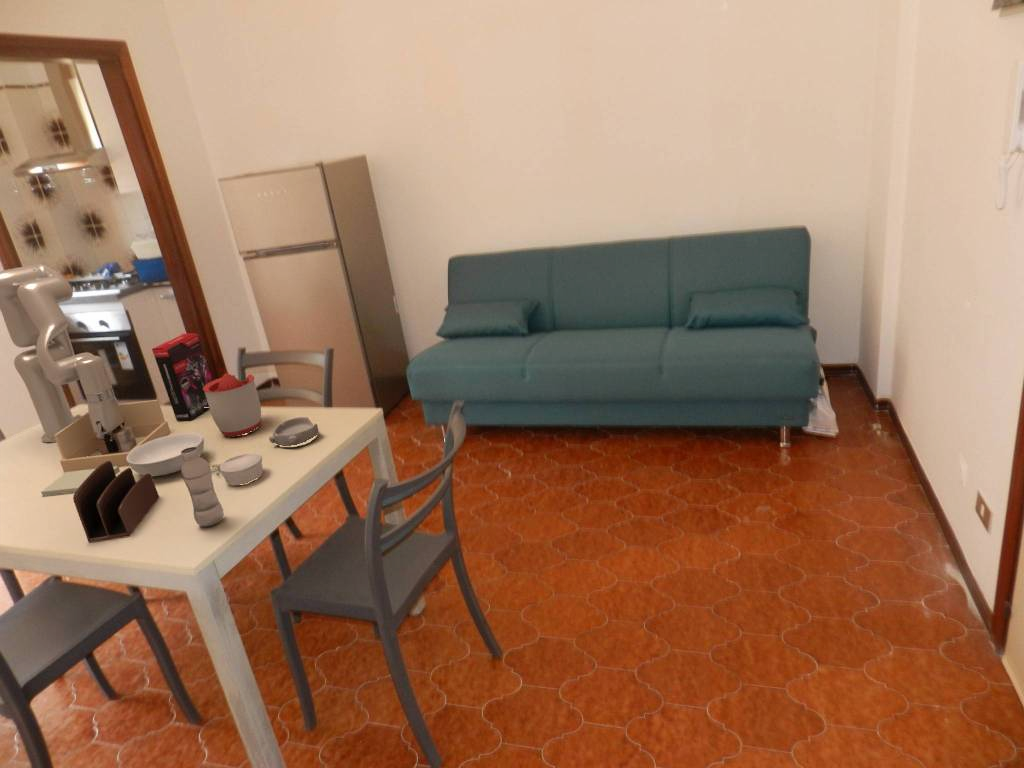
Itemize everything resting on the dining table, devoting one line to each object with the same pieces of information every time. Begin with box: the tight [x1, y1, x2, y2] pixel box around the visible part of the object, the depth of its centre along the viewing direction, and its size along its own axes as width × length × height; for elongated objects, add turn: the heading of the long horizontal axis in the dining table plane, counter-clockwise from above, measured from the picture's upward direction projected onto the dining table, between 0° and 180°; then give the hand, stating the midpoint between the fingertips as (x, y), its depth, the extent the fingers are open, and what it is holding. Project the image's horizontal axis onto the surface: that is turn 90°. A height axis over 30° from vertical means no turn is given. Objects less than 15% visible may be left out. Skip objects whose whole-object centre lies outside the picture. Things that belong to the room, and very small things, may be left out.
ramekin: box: [219, 452, 264, 486], centre depth 190 cm, size 11×11×5 cm
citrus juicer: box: [203, 372, 262, 438], centre depth 223 cm, size 16×17×20 cm
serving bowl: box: [126, 432, 205, 477], centre depth 203 cm, size 21×21×7 cm
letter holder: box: [72, 461, 160, 544], centre depth 175 cm, size 10×20×14 cm, turn 6°
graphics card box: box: [151, 332, 213, 422], centre depth 243 cm, size 17×7×27 cm, turn 168°
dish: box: [268, 416, 319, 446], centre depth 212 cm, size 14×14×5 cm
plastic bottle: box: [180, 447, 225, 528], centre depth 166 cm, size 6×7×20 cm
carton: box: [54, 399, 171, 473], centre depth 219 cm, size 24×22×12 cm
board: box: [40, 466, 120, 497], centre depth 201 cm, size 12×16×2 cm
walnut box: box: [95, 427, 138, 455], centre depth 220 cm, size 5×9×7 cm, turn 90°
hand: (118, 447), depth 221 cm, fingers closed on walnut box, 5 cm apart
